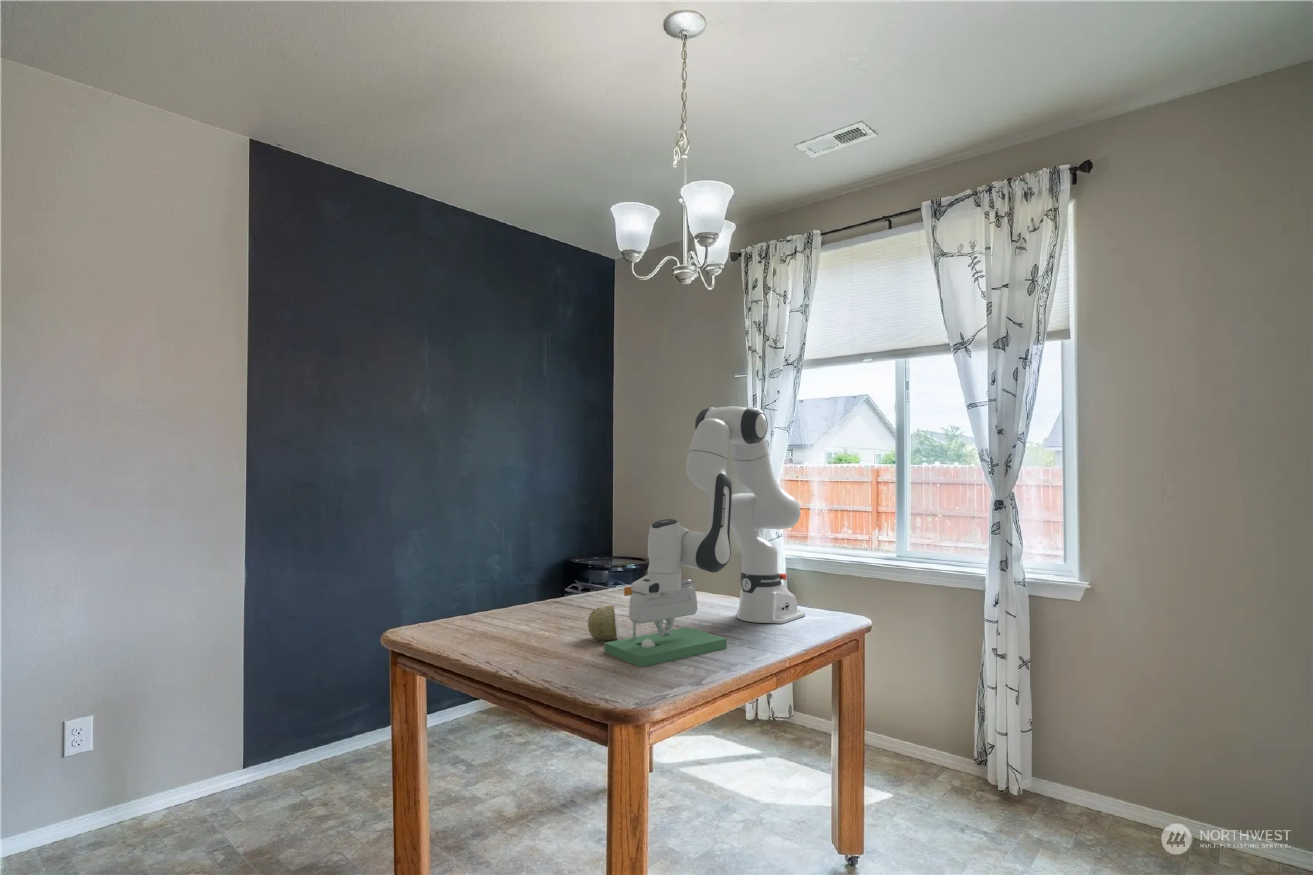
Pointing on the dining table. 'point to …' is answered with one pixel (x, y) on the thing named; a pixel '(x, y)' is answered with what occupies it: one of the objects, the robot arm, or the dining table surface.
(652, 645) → the ball
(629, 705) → the dining table surface
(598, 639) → the coral
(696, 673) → the dining table surface
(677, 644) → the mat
